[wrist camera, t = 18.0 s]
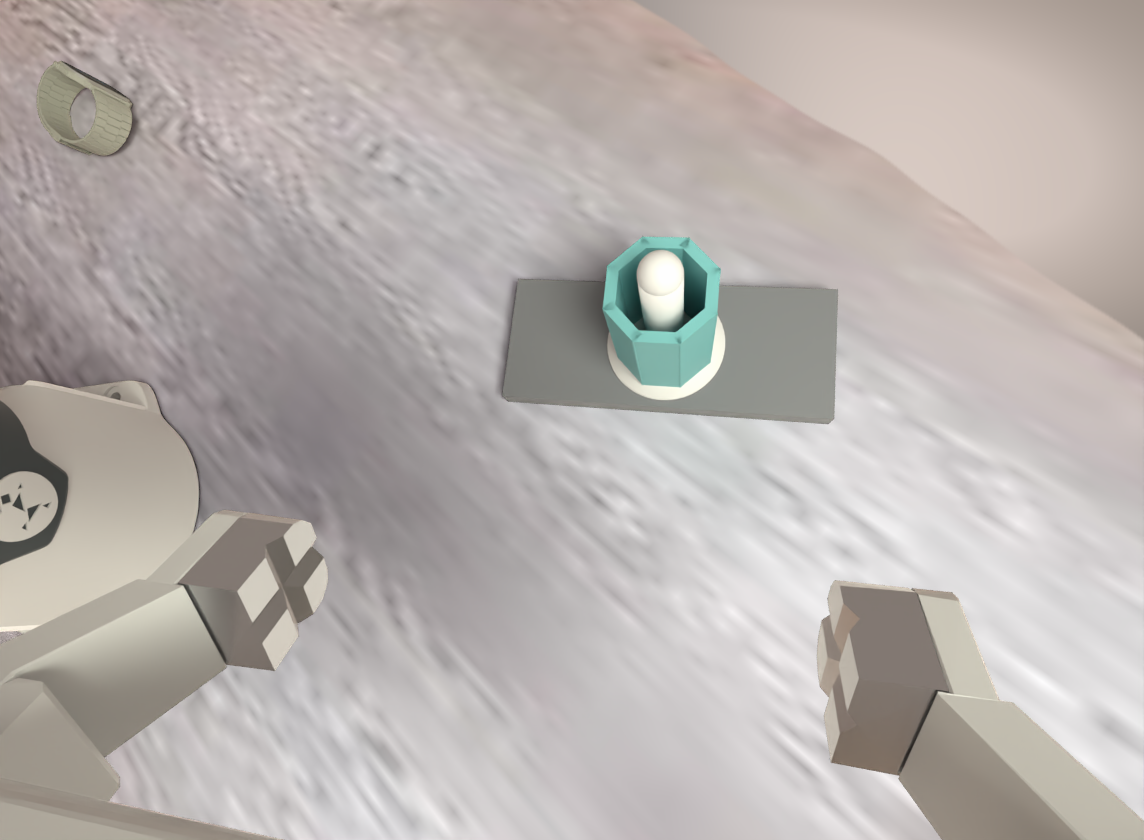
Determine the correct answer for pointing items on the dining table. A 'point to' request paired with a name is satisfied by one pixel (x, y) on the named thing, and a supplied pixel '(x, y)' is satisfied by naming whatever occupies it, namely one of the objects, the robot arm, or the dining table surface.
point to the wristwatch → (56, 103)
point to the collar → (656, 351)
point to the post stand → (741, 343)
